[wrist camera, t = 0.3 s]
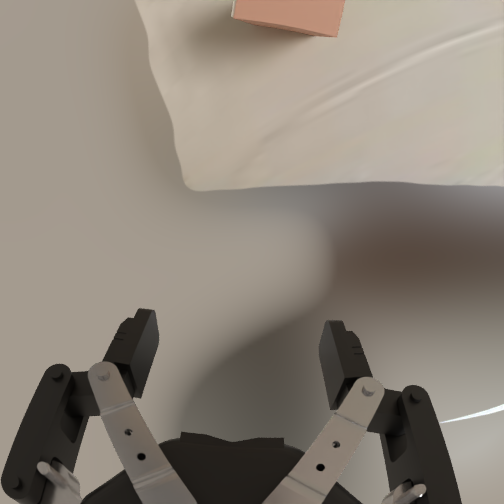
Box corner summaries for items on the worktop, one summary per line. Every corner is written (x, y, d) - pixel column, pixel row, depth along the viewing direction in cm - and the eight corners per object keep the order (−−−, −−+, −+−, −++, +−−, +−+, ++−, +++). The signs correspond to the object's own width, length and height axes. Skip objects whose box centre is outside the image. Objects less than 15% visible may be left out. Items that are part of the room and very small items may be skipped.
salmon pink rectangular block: (321, 6, 24) (347, -11, 13) (315, 36, 27) (336, 37, 16) (257, -6, 24) (238, -31, 13) (251, 24, 27) (229, 18, 15)
